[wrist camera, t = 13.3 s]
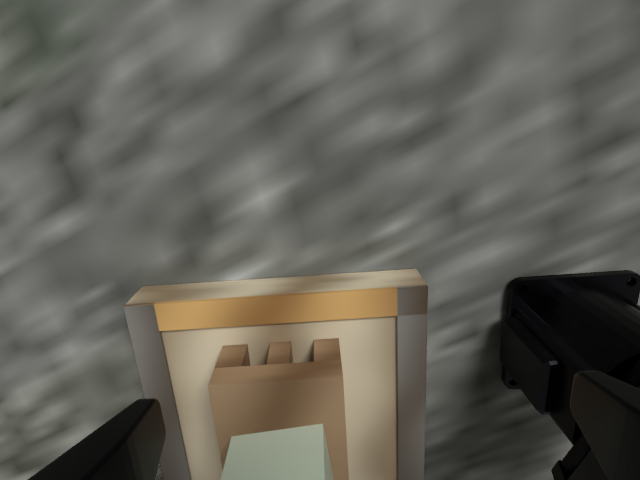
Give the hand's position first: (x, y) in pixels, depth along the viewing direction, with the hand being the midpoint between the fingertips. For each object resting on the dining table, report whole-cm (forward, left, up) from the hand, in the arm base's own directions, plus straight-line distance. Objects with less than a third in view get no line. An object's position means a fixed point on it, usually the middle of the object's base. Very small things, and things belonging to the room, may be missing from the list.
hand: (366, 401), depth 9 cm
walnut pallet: (+3, +9, -10) cm, 14 cm away
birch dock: (+3, +9, -12) cm, 15 cm away
